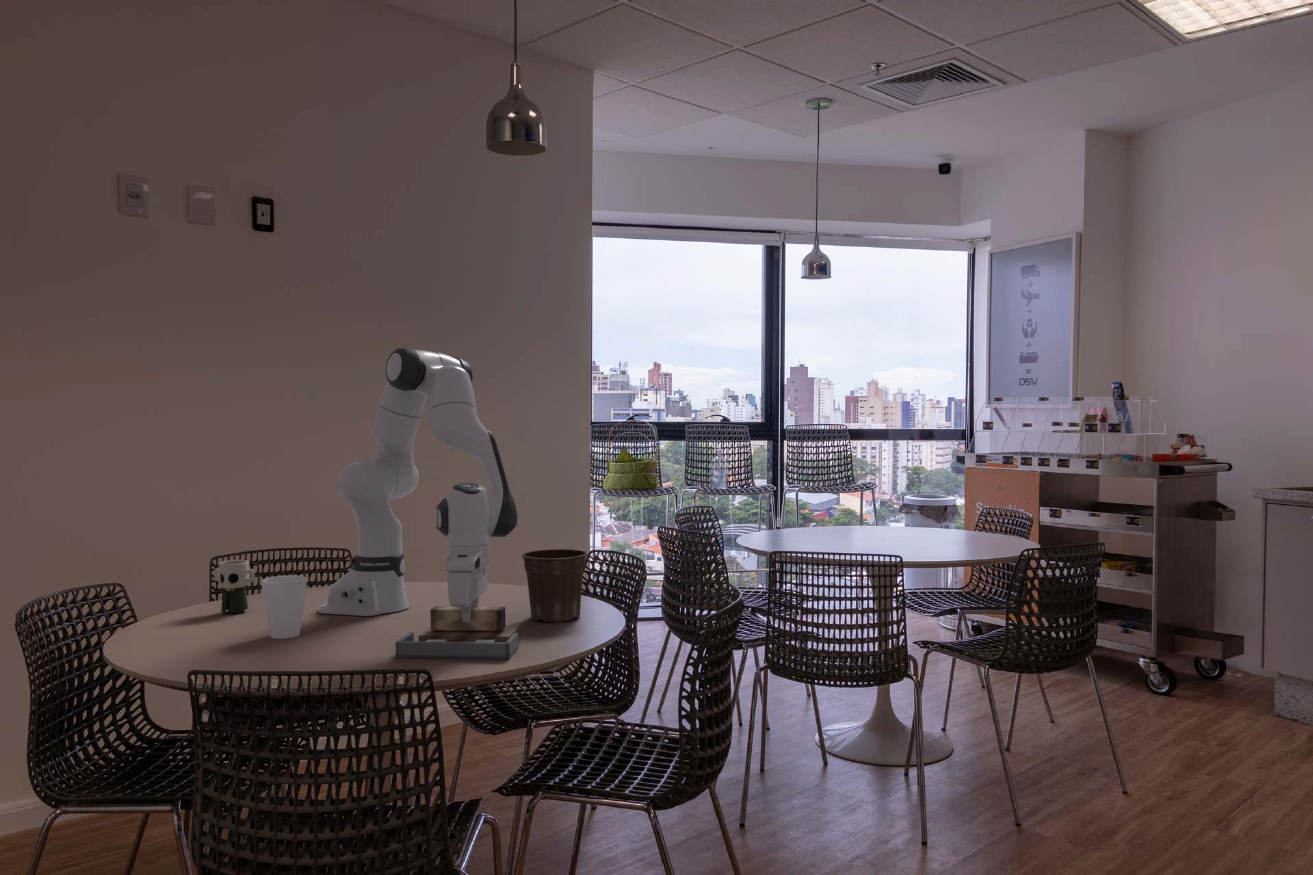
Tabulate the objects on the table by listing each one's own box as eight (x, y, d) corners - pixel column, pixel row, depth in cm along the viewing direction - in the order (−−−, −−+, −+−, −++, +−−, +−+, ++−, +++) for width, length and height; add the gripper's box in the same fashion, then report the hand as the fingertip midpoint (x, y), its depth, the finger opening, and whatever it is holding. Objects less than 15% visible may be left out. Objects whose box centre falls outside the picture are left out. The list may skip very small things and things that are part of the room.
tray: (395, 657, 192) (395, 642, 192) (409, 646, 201) (409, 631, 201) (509, 659, 191) (509, 643, 191) (518, 648, 200) (518, 633, 200)
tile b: (472, 651, 195) (472, 644, 195) (477, 646, 199) (476, 639, 199) (490, 651, 195) (490, 644, 195) (495, 646, 199) (495, 639, 199)
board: (418, 647, 201) (418, 635, 201) (432, 635, 211) (432, 624, 211) (509, 648, 200) (509, 636, 200) (518, 636, 210) (518, 625, 210)
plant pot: (515, 613, 234) (514, 550, 234) (575, 608, 240) (575, 546, 240) (532, 627, 219) (532, 560, 219) (596, 621, 226) (596, 555, 225)
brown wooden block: (430, 629, 204) (430, 609, 204) (435, 626, 208) (434, 606, 208) (502, 630, 204) (501, 610, 203) (505, 626, 207) (505, 606, 207)
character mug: (206, 614, 234) (205, 563, 233) (223, 608, 241) (222, 559, 240) (246, 616, 232) (245, 564, 232) (262, 610, 239) (261, 560, 239)
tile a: (422, 650, 196) (422, 643, 196) (428, 646, 200) (428, 639, 200) (441, 651, 195) (441, 644, 195) (446, 646, 199) (446, 639, 199)
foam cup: (264, 642, 206) (263, 584, 205) (261, 633, 214) (260, 577, 214) (309, 637, 210) (308, 580, 210) (304, 628, 218) (303, 574, 218)
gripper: (467, 549, 216) (467, 608, 216) (442, 564, 195) (443, 629, 196) (494, 549, 215) (494, 608, 216) (471, 564, 195) (472, 629, 195)
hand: (469, 618), depth 206 cm, fingers closed on brown wooden block, 3 cm apart
